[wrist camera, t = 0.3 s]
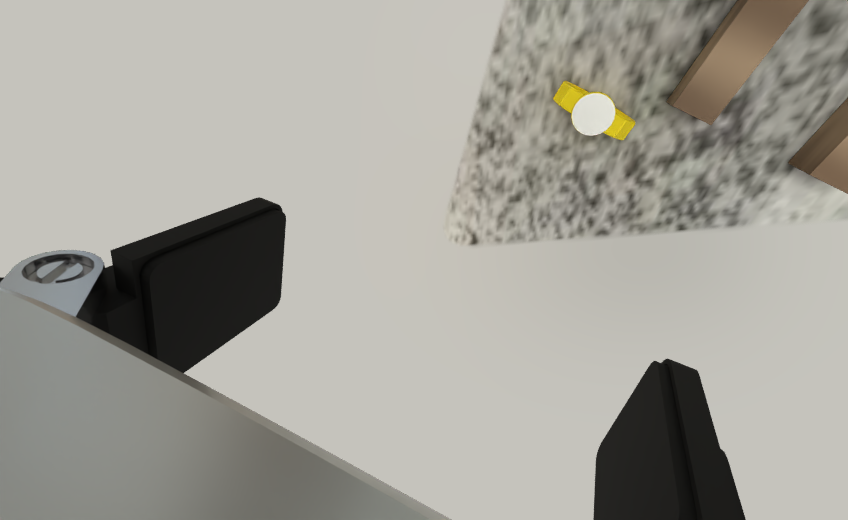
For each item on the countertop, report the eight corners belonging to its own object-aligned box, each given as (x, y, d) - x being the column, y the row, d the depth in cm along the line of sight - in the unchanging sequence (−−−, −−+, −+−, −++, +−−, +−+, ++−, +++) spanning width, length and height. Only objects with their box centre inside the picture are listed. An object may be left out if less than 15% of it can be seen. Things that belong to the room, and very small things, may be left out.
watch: (638, 109, 33) (649, 119, 28) (614, 141, 34) (621, 157, 29) (570, 69, 33) (568, 73, 28) (549, 103, 35) (544, 112, 29)
